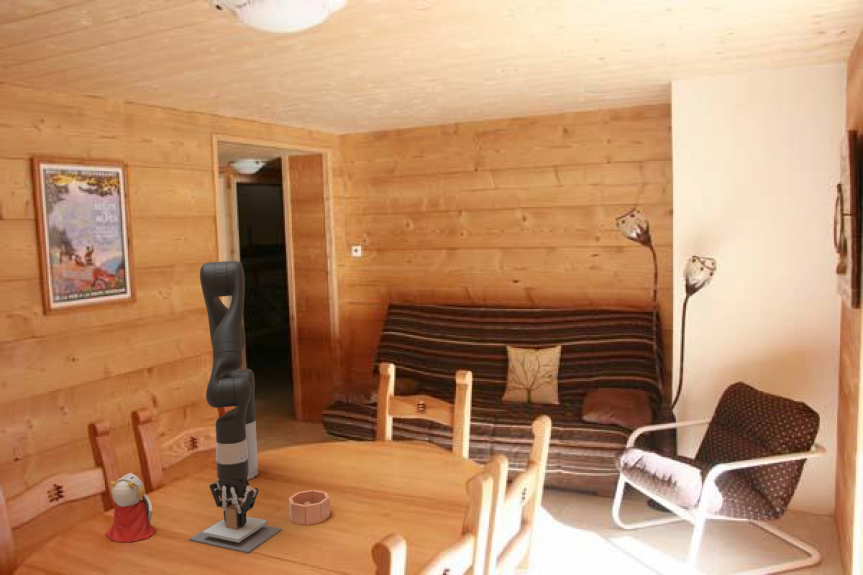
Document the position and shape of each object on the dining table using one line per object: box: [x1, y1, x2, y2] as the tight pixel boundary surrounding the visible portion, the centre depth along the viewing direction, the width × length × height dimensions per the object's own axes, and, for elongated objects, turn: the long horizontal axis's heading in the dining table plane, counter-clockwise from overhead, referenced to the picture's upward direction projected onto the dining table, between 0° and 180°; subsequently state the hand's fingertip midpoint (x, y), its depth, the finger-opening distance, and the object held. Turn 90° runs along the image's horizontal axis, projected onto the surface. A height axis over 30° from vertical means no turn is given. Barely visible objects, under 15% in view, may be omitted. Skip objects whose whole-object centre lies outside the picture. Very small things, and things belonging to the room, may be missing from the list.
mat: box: [188, 517, 283, 554], centre depth 168 cm, size 18×13×1 cm
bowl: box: [288, 489, 331, 526], centre depth 178 cm, size 10×10×5 cm
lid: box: [202, 502, 268, 543], centre depth 168 cm, size 11×11×6 cm
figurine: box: [105, 472, 157, 543], centre depth 171 cm, size 13×12×15 cm
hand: (235, 524), depth 168 cm, fingers closed on lid, 3 cm apart
